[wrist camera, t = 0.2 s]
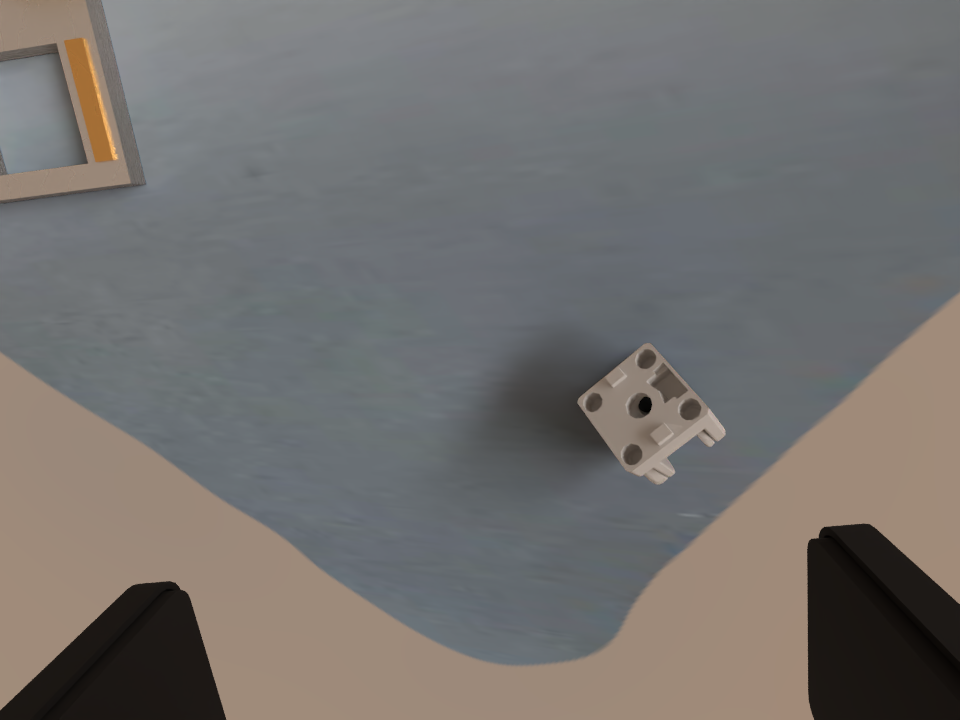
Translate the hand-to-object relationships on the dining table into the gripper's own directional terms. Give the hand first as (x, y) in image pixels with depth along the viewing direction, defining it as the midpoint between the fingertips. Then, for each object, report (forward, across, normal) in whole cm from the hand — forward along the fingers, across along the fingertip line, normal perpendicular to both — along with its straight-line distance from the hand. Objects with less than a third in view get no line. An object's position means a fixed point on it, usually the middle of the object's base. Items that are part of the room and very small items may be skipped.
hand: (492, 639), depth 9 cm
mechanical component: (+31, -7, +6) cm, 33 cm away
